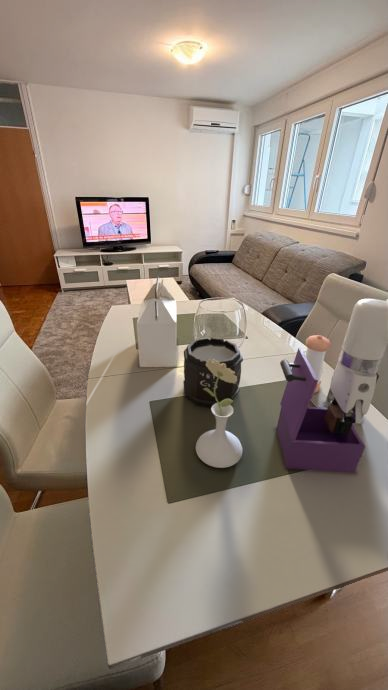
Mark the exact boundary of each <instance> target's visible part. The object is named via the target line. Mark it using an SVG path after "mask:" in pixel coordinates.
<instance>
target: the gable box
mask: <svg viewBox="0 0 388 690" xmlns="http://www.w3.org/2000/svg"><path fill="white" fill-rule="evenodd" d="M177 322H178V321H177V300H176V299H175V298H174V297H173V296H172V294H171V292H170V291H169V290H168V289H167V287H166V286H165V285H164V279H163V278H162V279H161V282H160V277H159V276H157V277H156V281H155V283H154V284H153V285H152V286H151V287H150V289H149V291H148V292H147V294H146V296H145V297H144V298H143V300H142V301H141V305H140V309H139V313H138V317H137V320H136V334H137V348H138V359H139V360H138V361H139V368H169V367H170V368H171V367H172V368H173V367H177V366H178V345H177V344H178V342H177V341H178V340H177V338H178V337H177V335H178V334H177V333H178V332H177V331H178V330H177V326H178V325H177Z"/></svg>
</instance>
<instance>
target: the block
mask: <svg viewBox="0 0 388 690" xmlns="http://www.w3.org/2000/svg"><path fill="white" fill-rule="evenodd" d="M341 411H342V409H341V408H340V406H339V405H328V408H327V412H326V415H325V418H324V419H325V421H326V423H327V425H328V427H329V430H330V431H331V432H334V429H335V426H336V423H337V420H338V419H340V416H341ZM347 416H351V413H346V417H347ZM352 425H353V426H354V423H353V424H352ZM351 428H352V426H351ZM350 430H351V429H350ZM349 433H350V432H349Z"/></svg>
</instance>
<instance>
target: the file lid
mask: <svg viewBox="0 0 388 690" xmlns="http://www.w3.org/2000/svg"><path fill="white" fill-rule="evenodd" d="M305 355H306V353H305V352H304V350H303V349H302V348H301V347H299V348H297V351H296V355H295V357H294V360H293V362H289V360H287V359H282V360H281V361H280V363H279V364H280V367H281V370H282V374H283V376H284V379H285V381H286V385H285V387H284V391H283V394H282V398H281V399H280V400H281V401H280V403H279V404H280V406H281V407H282V410H283V414H284V417H285V420H286V424H287V427H288V430H289V434H290V437H291V440H292V441H295V439H296V437H297V434H298V432H299V429H300V426H301V424H302V421H303V419H304V416H305V413H306V411H307V408H308V407H310V406H309V405H310V404H311V400H312V398H313V395H314V394H315V393H314V390H315V388H316V385H317V382H318V379H317V377H316V375H315V373H314V371H313V369H312V367H311V365H310V363H309V362H308V360H307V358H306V356H305ZM281 407H280V408H281Z"/></svg>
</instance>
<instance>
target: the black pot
mask: <svg viewBox="0 0 388 690" xmlns="http://www.w3.org/2000/svg"><path fill="white" fill-rule="evenodd" d="M213 359H215V360H216V361H218V362H219V363H220V364H222V363H224V364H226V368H229V369H231V371H234V372H235V374H233V375H235V376H236V377H237V378H236V379H237V381H236V382H235V384H234V383H229V382H225V381H224V380H221V379H220V378H219V379H218V382H217V385H216V389H215V394H216V397H217V400H218V402H219V403H220V402H221V401H223V400H224V399H227V398H228V399H231V400H233V401H234V399H235V397H237V396H238V394H239V392H240V387H239V386H240V383H241V378H242V377H241V374H242V363H243V361H244V358H243V356H242V354H241V351H240V349H239V348H238V345H237V344H236V343H233V342H231V341H229V340H227V339H224V338H220V337H219V338H218V337H210V338H209V337H202V338H196V339H194V340H193V341H192V342H191V343H189V344H188V345H186V348H185V349H183V376H184V377H183V378H184V380H183V392H184V395H186V397H187V398H188V399H190V401H192V402H193V403H195V404H196V405H197V406H200V407H201V406H202V407H207V408H211V407H212V406H213V405H214V404H216V403H217V401H216V399H215V396H214V397H213V396H212V395H211V394H210V393H208V392H207V391H205V390H203V389H204V388H208V389H209V390H210V391H211V392H212V393H214V387H215V384H216V380H217V376H215V374H213V373H212V372H211V371H210V370H209V369H208V367H207V366H206V363H207V362H206V361H208V360H211V361H212V362H213ZM213 363H214V362H213Z"/></svg>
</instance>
